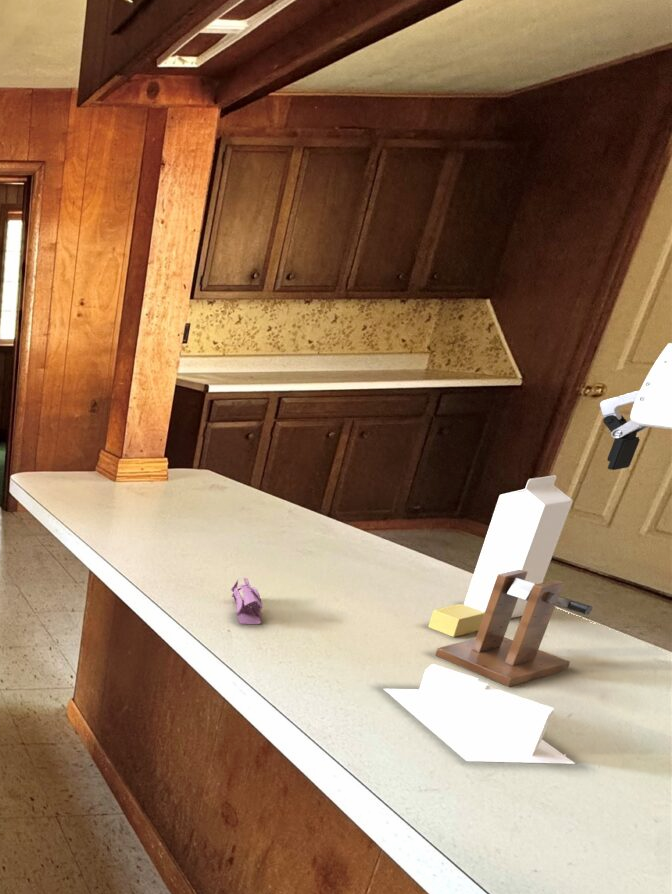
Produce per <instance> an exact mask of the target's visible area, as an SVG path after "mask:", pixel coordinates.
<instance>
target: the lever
mask: <svg viewBox="0 0 672 894" xmlns="http://www.w3.org/2000/svg"><path fill="white" fill-rule="evenodd" d="M533 585H536V583H532V582H529V581H526V580H522V579H519V578H515V580H514V582H513V584H512V585H511V587H510V589H509V590H508V592H507V594H508V595H511V596H514V597H518V598H521V599H524V600H527V601H528V599H529V596H530V593H531V590H532V588H533ZM555 607H559V608H561V609H563V610H564V609H565V610H567V611H570V612H574V613H576V614H580V615H583V616H589V615H590V613H591V612H592V610H593V606H592V605H590V604H587V603H584V602H581V601H578V600H574V599H571V598H567V597H564V596H561V595H559V598H558V600H557V603H556V605H555Z"/></svg>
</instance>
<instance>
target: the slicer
mask: <svg viewBox="0 0 672 894" xmlns="http://www.w3.org/2000/svg"><path fill="white" fill-rule="evenodd" d="M526 575H527V571H523V570H515V571H510V572H506V573H501V574H498V575H497V578H496V581H495V584H494V587H493V590H492V593H491V596H490V598H489V601H488V604H487V607H486V610H485V613H484V616H483V619H482V622H481V625H480V627H479V630H478V631H477V633H476V636H475V638H472V639H468V640H464V641H460V642H456V643H453V644H449V645H444V646H440V647H438V648H437V649H436V652H435V656H436V657H438V658H441V659H443V660H445V661H447V662H450V663H452V664H454V665H457V666H460V667H462V668H463V669H466V670H469V671H471V672H474V673H475V674H477V675H480V676H483V677H485V678H487V679H490V680H492V681H494V682H496V683H499V684H501V685H503V686H506V687H512V686H515V685H519V684H522V683H526V682H529V681H532V680H536V679H539V678H542V677H546V676H549V675H552V674H556V673H559V672H563V671H567V670H569V667H570V664H571V661H570V660H567V659H564V658H562V657H559V656H556V655H554V654H550V653H548V652H546V651H542V650H540V646H541V643H542V641H543V639H544V636H545V633H546V632H547V628H548V626H549V624H550V620H551V618H552V616H553V613H554V610H555V608H556V606H555V605H556V603H557V600H558V598H559V596H561V592H562V590H563V587H564V586H565V582H564V581H561V580H558V579H553V580H549V581H545V582H544V581H543V582H542V583H540V584H536V585H533V588H532V590H531V593H530V596H529V599H528V601H527V604H526V607H525V609H524V612H523V615H522V616H520V617H521V618H520V621H519V623H518V625H517V628H516V631H515V633H514V636H513V639H510V638H508V637H505V635H506V633H507V630H508V627H509V625H510V621H511V619H512V618H511V616H512V613H513V611H514V608H515V605H516V602H517V600H518V597H514V596H511V595H508V594H507V592H508V590H509V589H510V587H511V585H512V584H513V582H514V580H515V578H519V579H522V580H525V578H526Z"/></svg>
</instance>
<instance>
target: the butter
mask: <svg viewBox="0 0 672 894" xmlns="http://www.w3.org/2000/svg"><path fill="white" fill-rule="evenodd" d="M484 613H485V612H483V611H480V610H477V609H474V608H472V607H469V606H466V605H464V603H457V604H453V605H449V606H445V607H439V608H435V609H433V611H432V614H431V617H430V621H429V624H428V628H429V629H432V630H434V631H437V632H439V633H441V634H445V635H447V636H450V637H453V638H455V637H459V636H462V635H468V634H471V633H474V632H478V630H479V627H480V625H481V622H482V619H483V616H484Z"/></svg>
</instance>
